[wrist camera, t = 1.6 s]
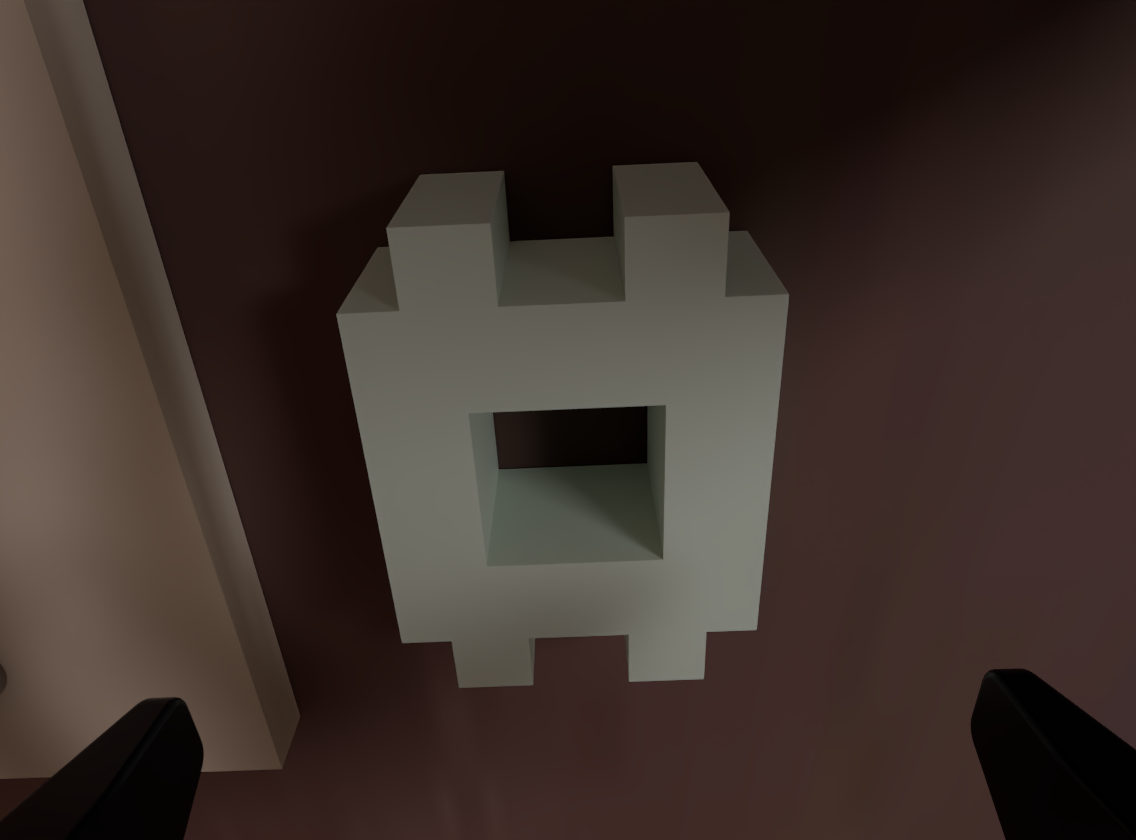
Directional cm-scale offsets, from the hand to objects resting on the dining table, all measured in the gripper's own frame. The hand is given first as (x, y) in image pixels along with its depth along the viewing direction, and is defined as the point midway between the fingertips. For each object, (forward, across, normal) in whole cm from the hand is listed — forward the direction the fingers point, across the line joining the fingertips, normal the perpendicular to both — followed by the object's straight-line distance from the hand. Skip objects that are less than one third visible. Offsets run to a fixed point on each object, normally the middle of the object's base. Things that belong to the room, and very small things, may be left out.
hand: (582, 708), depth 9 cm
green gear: (+7, 0, 0) cm, 7 cm away
